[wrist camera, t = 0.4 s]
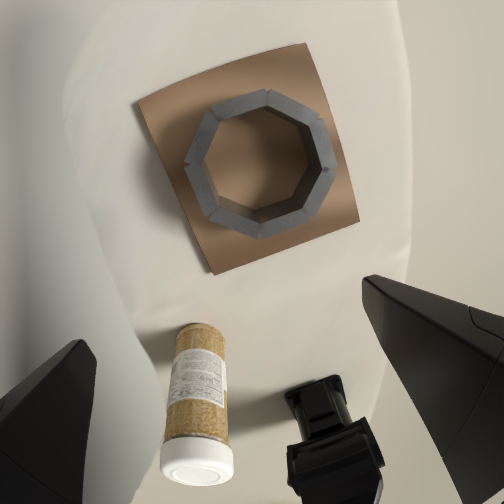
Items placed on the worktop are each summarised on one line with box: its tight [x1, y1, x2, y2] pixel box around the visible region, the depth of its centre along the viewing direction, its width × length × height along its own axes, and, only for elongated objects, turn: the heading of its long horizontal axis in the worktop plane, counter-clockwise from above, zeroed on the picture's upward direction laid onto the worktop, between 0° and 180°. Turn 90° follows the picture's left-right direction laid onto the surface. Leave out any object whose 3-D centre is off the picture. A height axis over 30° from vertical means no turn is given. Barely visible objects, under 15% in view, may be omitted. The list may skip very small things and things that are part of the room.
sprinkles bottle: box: [160, 324, 234, 486], centre depth 20 cm, size 5×5×14 cm
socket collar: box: [184, 88, 338, 239], centre depth 18 cm, size 9×9×3 cm
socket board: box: [138, 43, 360, 276], centre depth 20 cm, size 14×12×1 cm
